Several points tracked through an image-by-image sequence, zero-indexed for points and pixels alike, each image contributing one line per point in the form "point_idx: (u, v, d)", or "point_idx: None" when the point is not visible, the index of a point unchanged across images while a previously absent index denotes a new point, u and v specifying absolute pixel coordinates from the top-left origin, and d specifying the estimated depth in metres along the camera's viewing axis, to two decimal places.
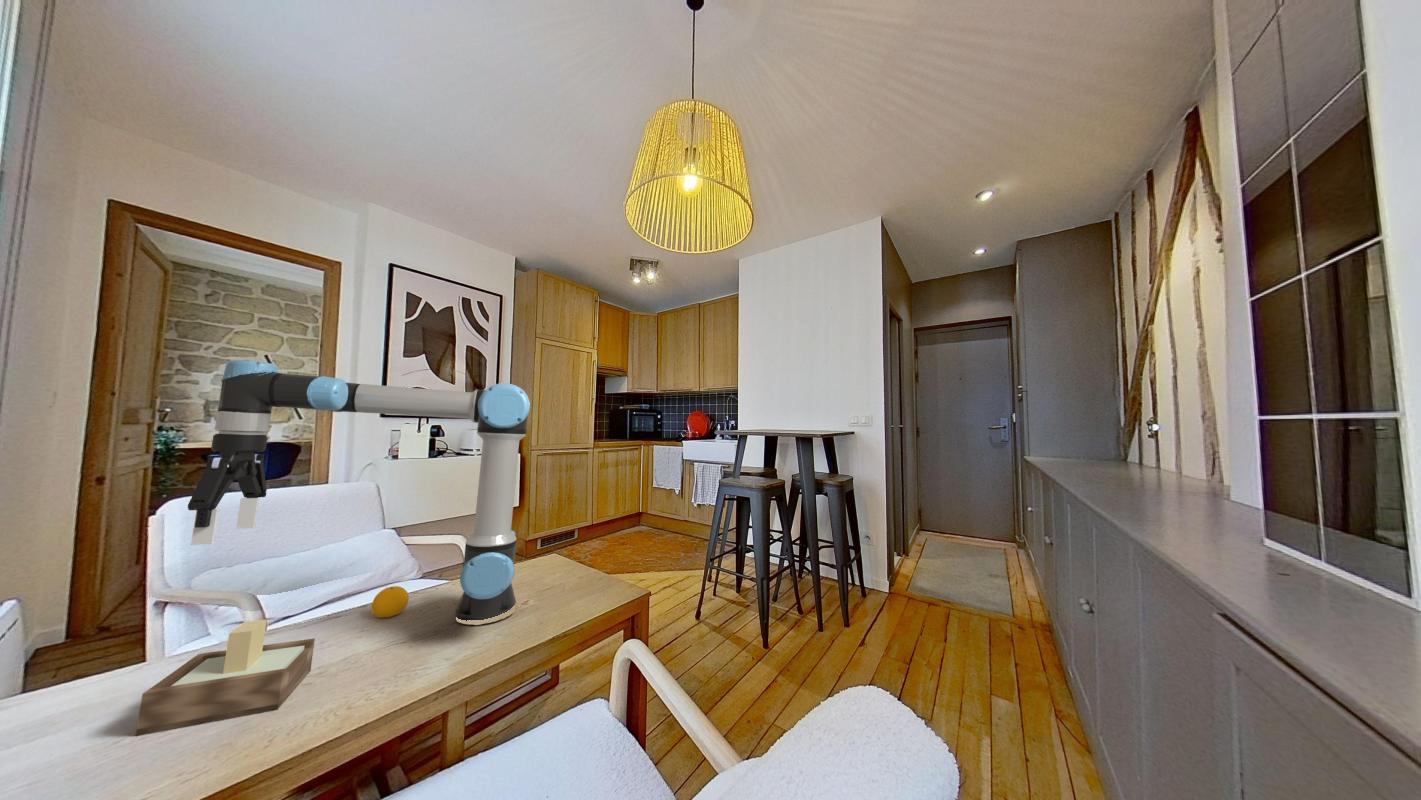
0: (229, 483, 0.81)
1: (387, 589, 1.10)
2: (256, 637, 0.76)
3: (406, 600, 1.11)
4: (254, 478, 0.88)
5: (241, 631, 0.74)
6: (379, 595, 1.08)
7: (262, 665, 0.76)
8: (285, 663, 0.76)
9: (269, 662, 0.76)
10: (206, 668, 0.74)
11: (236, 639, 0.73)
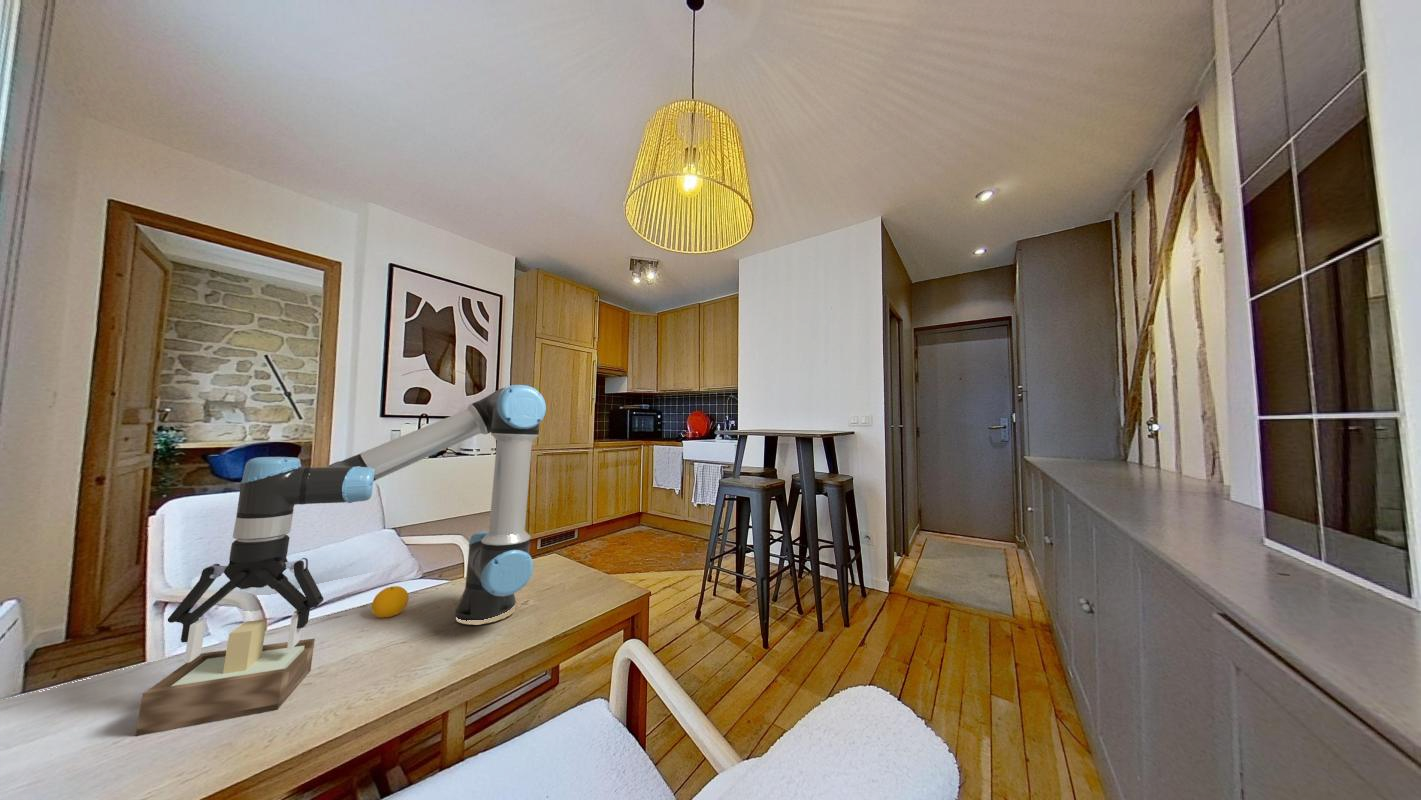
0: (218, 595, 0.74)
1: (387, 589, 1.10)
2: (256, 637, 0.76)
3: (406, 600, 1.11)
4: (281, 590, 0.77)
5: (241, 631, 0.74)
6: (379, 595, 1.08)
7: (262, 665, 0.76)
8: (285, 663, 0.76)
9: (269, 662, 0.76)
10: (206, 668, 0.74)
11: (236, 639, 0.73)
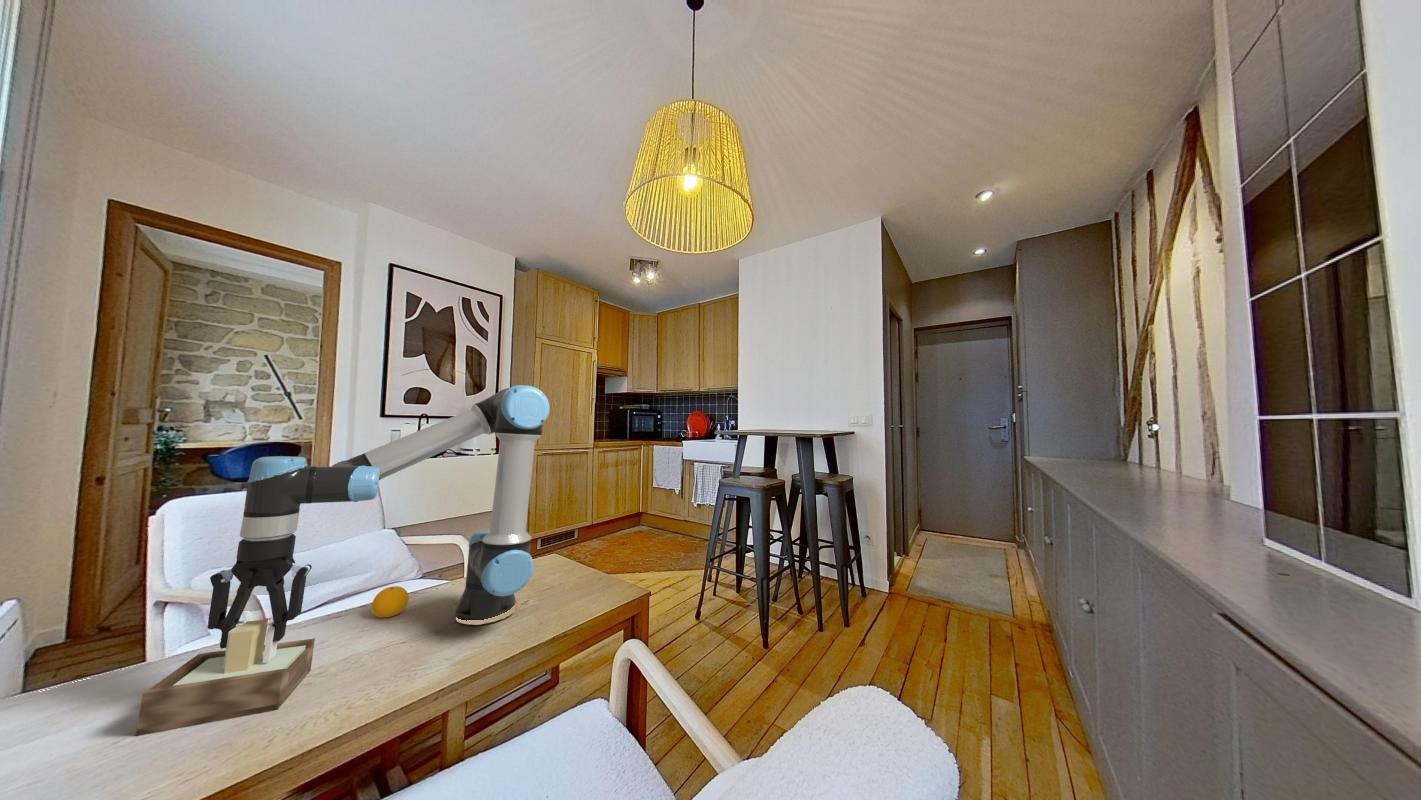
0: (240, 598, 0.75)
1: (387, 589, 1.10)
2: (257, 637, 0.76)
3: (406, 600, 1.11)
4: (273, 595, 0.77)
5: (242, 631, 0.74)
6: (379, 595, 1.08)
7: (263, 664, 0.76)
8: (286, 663, 0.76)
9: (270, 662, 0.77)
10: (207, 668, 0.74)
11: (237, 639, 0.74)
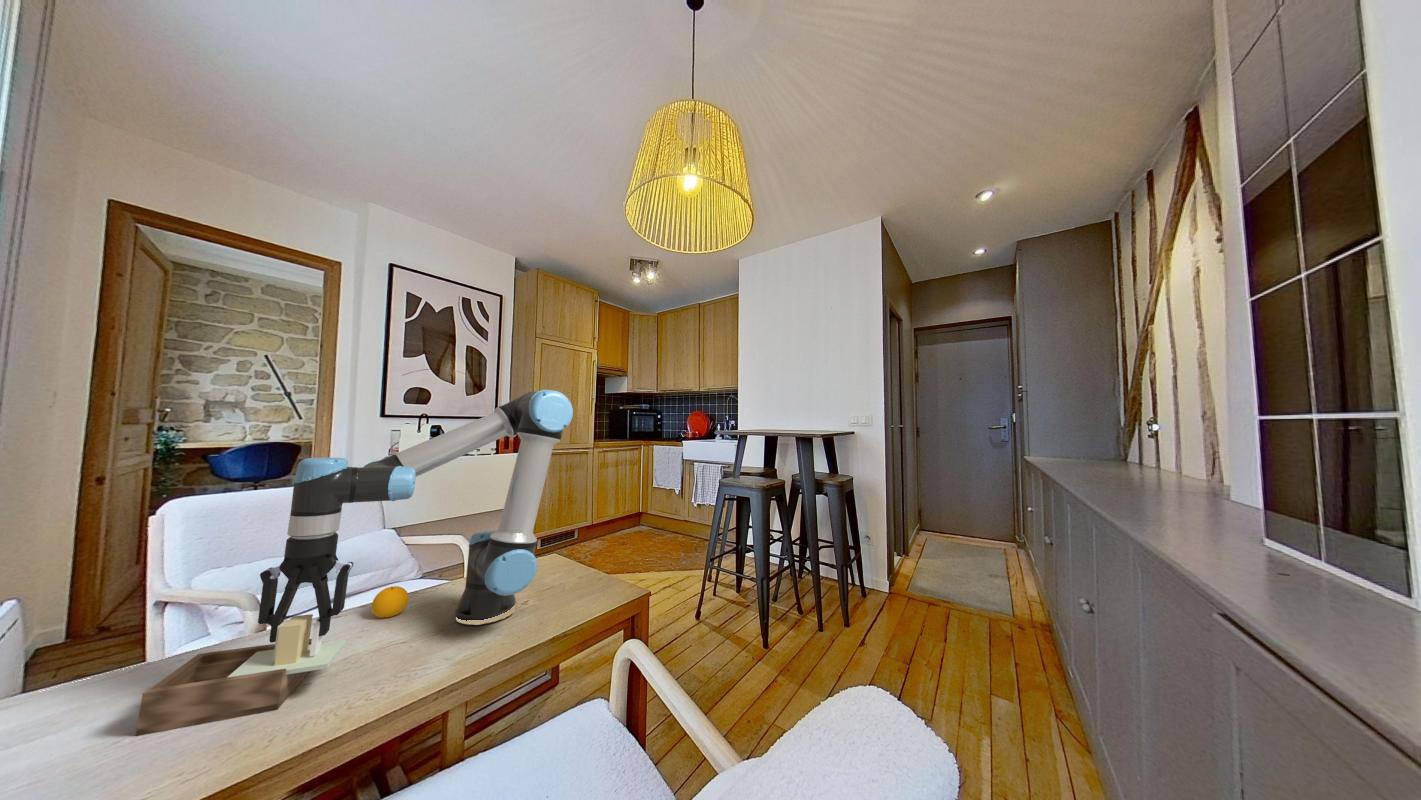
0: (288, 594, 0.78)
1: (387, 589, 1.10)
2: (304, 631, 0.79)
3: (406, 600, 1.11)
4: (319, 591, 0.80)
5: (291, 625, 0.77)
6: (379, 595, 1.08)
7: (310, 657, 0.79)
8: (331, 656, 0.79)
9: (316, 655, 0.79)
10: (257, 660, 0.77)
11: (286, 632, 0.76)
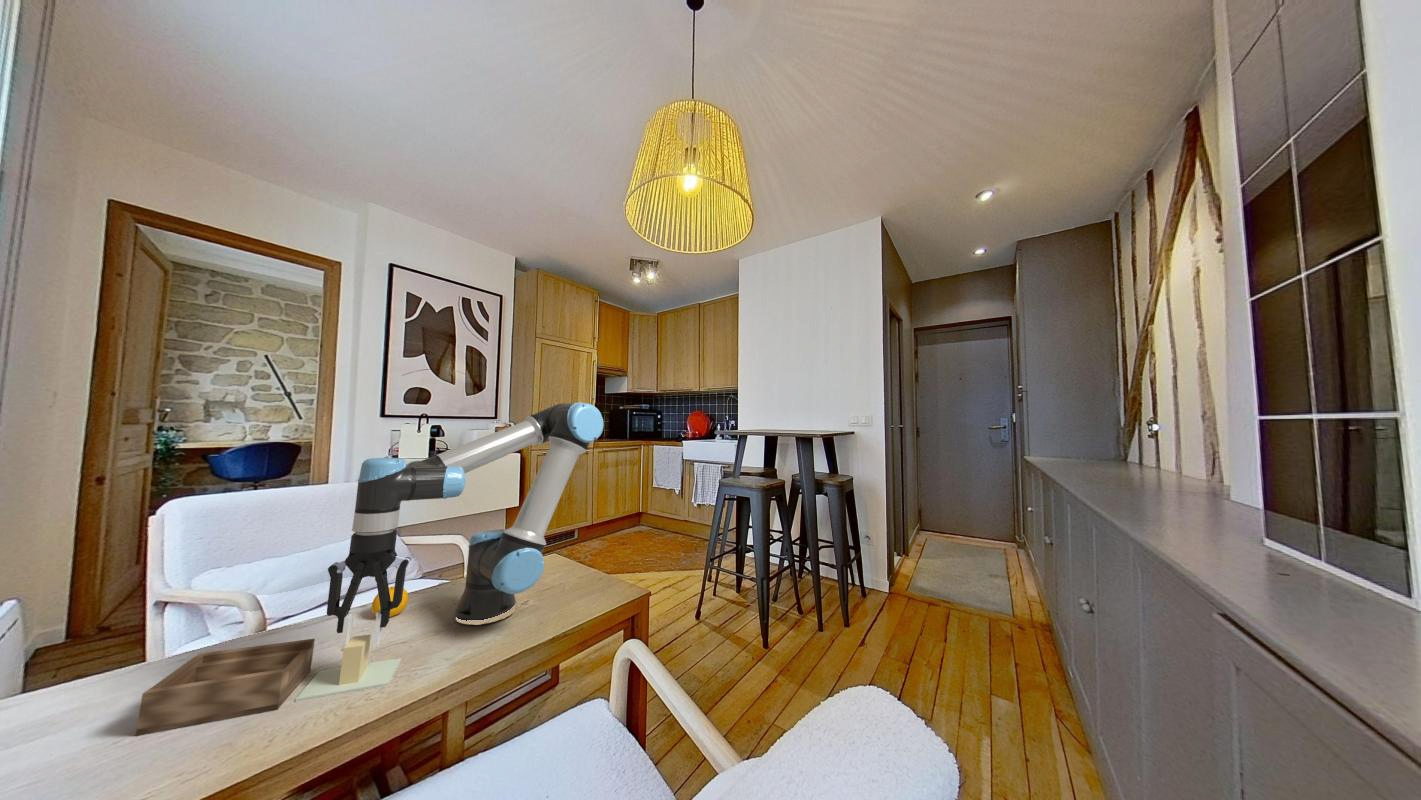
0: (353, 587, 0.82)
1: None
2: (364, 651, 0.83)
3: (406, 600, 1.11)
4: (381, 585, 0.84)
5: (353, 645, 0.81)
6: None
7: (370, 677, 0.82)
8: (390, 675, 0.83)
9: (376, 674, 0.83)
10: (322, 680, 0.81)
11: (349, 653, 0.80)
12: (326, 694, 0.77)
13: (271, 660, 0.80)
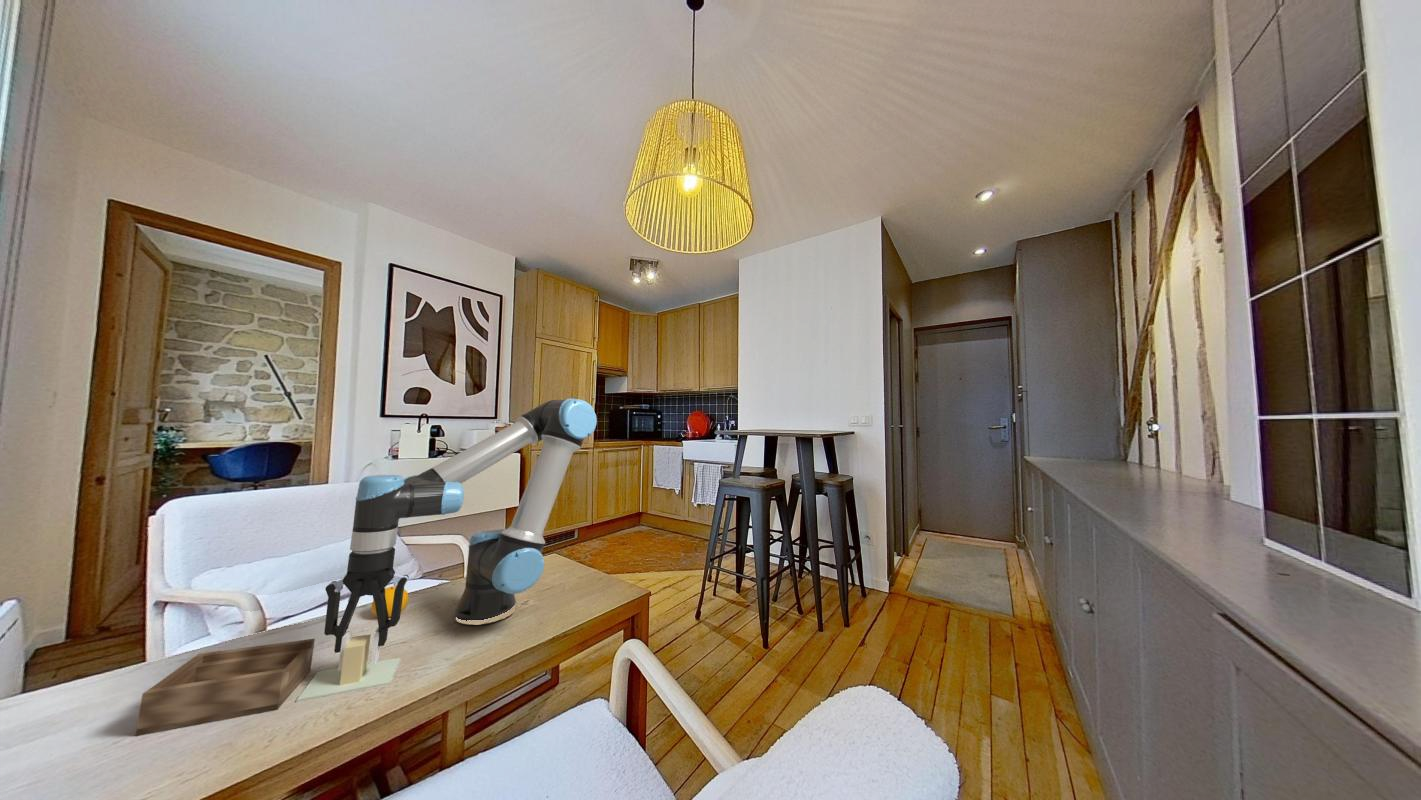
0: (351, 606, 0.82)
1: (387, 589, 1.10)
2: (365, 651, 0.83)
3: (406, 600, 1.11)
4: (379, 603, 0.84)
5: (354, 646, 0.81)
6: None
7: (371, 676, 0.83)
8: (391, 674, 0.83)
9: (376, 674, 0.83)
10: (322, 680, 0.81)
11: (350, 653, 0.80)
12: (327, 694, 0.77)
13: (271, 660, 0.80)
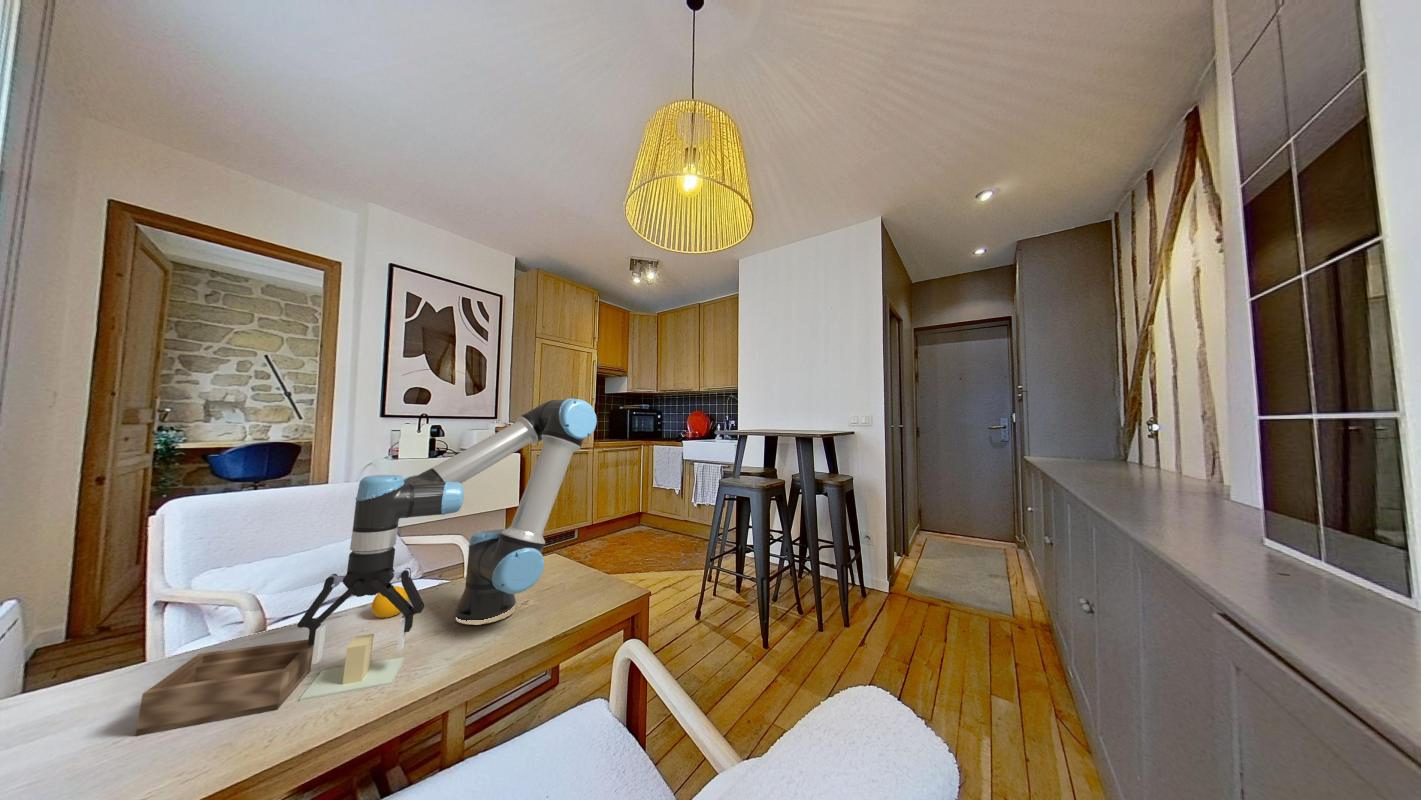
0: (338, 603, 0.81)
1: None
2: (367, 650, 0.83)
3: (406, 600, 1.11)
4: (391, 597, 0.85)
5: (357, 645, 0.81)
6: (379, 595, 1.08)
7: (374, 676, 0.83)
8: (394, 674, 0.84)
9: (379, 673, 0.84)
10: (325, 679, 0.81)
11: (352, 652, 0.81)
12: (330, 693, 0.77)
13: (271, 660, 0.80)
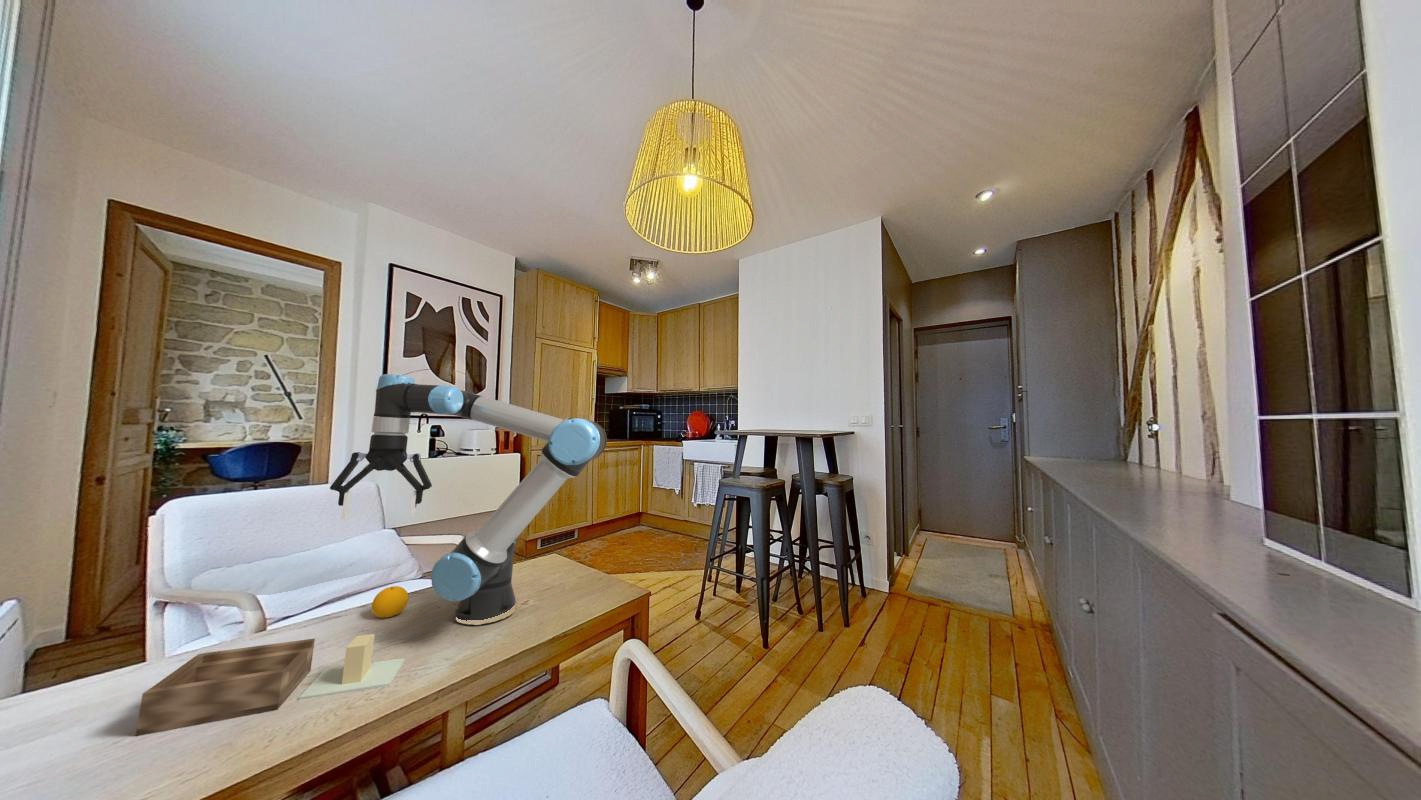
0: (362, 473, 0.99)
1: (387, 589, 1.10)
2: (367, 650, 0.83)
3: (406, 600, 1.11)
4: (405, 473, 1.03)
5: (356, 645, 0.81)
6: (379, 595, 1.08)
7: (373, 676, 0.82)
8: (392, 675, 0.83)
9: (378, 674, 0.83)
10: (326, 678, 0.81)
11: (352, 653, 0.81)
12: (328, 693, 0.77)
13: (271, 660, 0.80)
